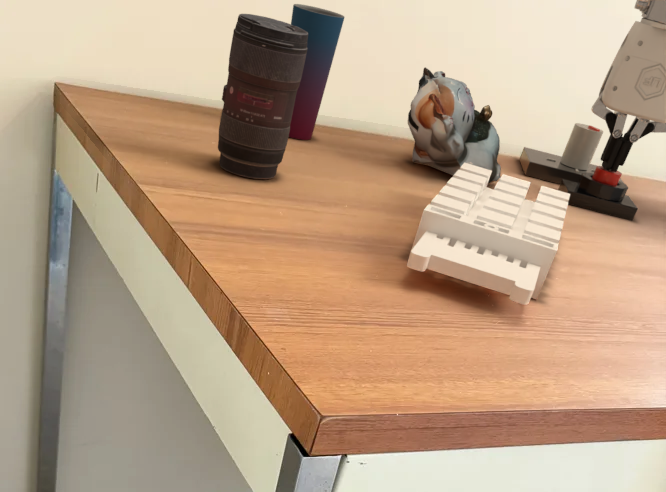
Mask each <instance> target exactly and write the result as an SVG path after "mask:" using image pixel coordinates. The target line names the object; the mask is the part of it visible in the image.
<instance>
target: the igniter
mask: <svg viewBox="0 0 666 492" xmlns="http://www.w3.org/2000/svg"><path fill="white" fill-rule="evenodd" d="M593 174H594V173H588V172H585V173H582V174H581V176H580V179H579V181H578V183H576V182H573V181H569V180H565V179H562V181H561V183H560V184H559V186H558V188H557V190H559V191H562V192H565V193H569V194H570V198H569V201H568V205H570V206H573V207H578V208H581V209H586V210H589V211H592V212H593V211H594V212H598V213H601V214H605V215H609V216H613V217H617V218H620V219H625V220H628V221H631V222H632V221H634V218H635V216H636V214H637V212H638V210H639V208H638V206H637V205H636V203H634V201H633V200H632V198H631V197H630V195H627V193H628V192H627V191H628V189H629V186H628V185H627V184H626V183H625V182H624V183H622V182H620V181H619V182H618V184H617V185H610V184H607V183H603V182H600V181H597V180H595V179H593V178H592V176H593Z"/></svg>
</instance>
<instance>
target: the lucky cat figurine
mask: <svg viewBox="0 0 666 492" xmlns="http://www.w3.org/2000/svg"><path fill="white" fill-rule="evenodd" d="M475 107H476V106H475V103H474V100H473V96H472V93H471V91H470V88H469V87H468V86H467V84H466V83H465V82H463V81H461V80H459V79H455V78H452V77H447V76H446V72H443V70H438V71H435V72H432V71H431V70H430V69H429V68H427V67H423V71H422V76H421V78H420V79H419V80H418V88H417V92H416V94H415V96H414V97H413V98H412V100H411V102H410V109H409V112H408V114H407V126H408V127H409V131H410V133H411V136H412V138H413V140H414V144H413V149H412V157H411V158H412V159H411V160H412V163H413V164H420V165H425V166H428V167H431V168H434V169H436V170H438V171H441V172H443V173H445V174H448V175H451V176H452V177H453V176H454V174H455V173H456V172H457V171H458V170H459V169H460V167H461V166H462V165H463V164H464V162H465V163H468V164H471V165H475V166H478V167H481V168H485V169H488V170H491V171H492V173H491V176H490V179H489V182H488V184H487V186H488V185H489V184H491V183H493V182H498V181H499V179H500V178H501V171H502V167H501V164H500V163H499V162H498V157H499V154H500V153H499V152H500V148H501V147H500V142H501V141H500V136H499V133H498V131H497V129H496V127H495V126H494V123H492V122H491V121H490V120H491V118H492V116H493V110H492V109H491V107H490V104H488V105H485V106H483V107H482V108H481V110H480V111H478V110H477V109H475Z"/></svg>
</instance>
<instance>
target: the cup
mask: <svg viewBox="0 0 666 492" xmlns="http://www.w3.org/2000/svg"><path fill="white" fill-rule="evenodd" d="M290 20H291V21H290V24H291V25H293V26H296V27H299V28H301V29H303V30H305V31H306V32H308V40H307V48H308V49H307V54H306V58H305V63H304V68H303V73H302V78H301V81H300V85H299V87H298V90H297V93H296V98H295V103H294V109H293V114H292V119H291V124H290V132H289V137H288V138H291V139H296V140H300V141H301V140H302V141H309V140H311V139H312V137H313V133H314V129H315V127H316V123H317V119H318V116H319V113H320V112H319V111H320V108H321V104H322V100H323V97H324V94H325V89H326V86H327V83H328V79H329V75H330V72H331V68H332V65H333V61H334V57H335V54H336V50H337V47H338V43H339V39H340V35H341V32H342V28H343V24H344V20H345V15H343V14H341V13H338V12H335V11H332V10H328V9H325V8H321V7H316V6H312V5H308V4H300V3H293V6H292V13H291V19H290Z"/></svg>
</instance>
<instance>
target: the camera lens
mask: <svg viewBox="0 0 666 492" xmlns="http://www.w3.org/2000/svg"><path fill="white" fill-rule="evenodd" d="M234 27H235V28H233V33H232V39H231V43H230V51H229V57H228V68H227V70H228V71H227V72H228V74H227V81H226V84H224V85H223V88H222V89H223V90H222V96H221V101H222V102H223V106H222V110H221V114H220V119H219V126H218V143H217V150H218V151H219V153H220V155H219V163H218V164H219V166H220V168H222V170H225V171H226V172H229V173H231V174H234V175H237V176H240V177H244V178H250V179H255V180H268V179H269V180H271V179H274V178H275V177H276V175H277V171H278V167H279V165H280V164H281V163H282V162H283V159H284V155H285V151H286V149H287V145H288V141H289V138H290V137H289V132H290V124H291V119H292V114H293V109H294V103H295V98H296V93H297V90H298V87H299V85H300V81H301V78H302V73H303V68H304V63H305V58H306V54H307V49H308V48H307V40H308V32H306V31H305V30H303V29H301V28H299V27H296V26H293V25H291V23H288V22H285V21H281V20H278V19H275V18H271V17H267V16H264V15H263V16H262V15H258V14H252V13H239V14H238V16H237V21H236V24H235V26H234Z"/></svg>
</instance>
